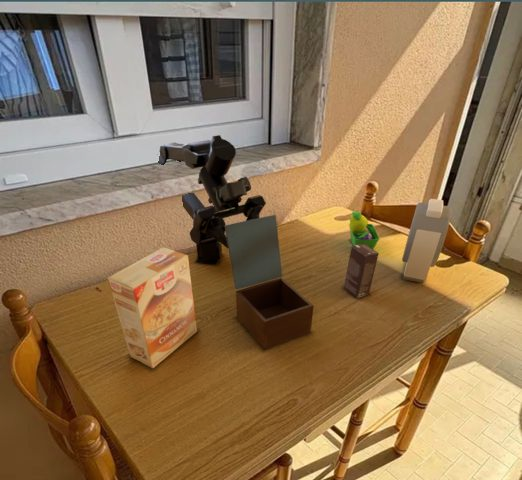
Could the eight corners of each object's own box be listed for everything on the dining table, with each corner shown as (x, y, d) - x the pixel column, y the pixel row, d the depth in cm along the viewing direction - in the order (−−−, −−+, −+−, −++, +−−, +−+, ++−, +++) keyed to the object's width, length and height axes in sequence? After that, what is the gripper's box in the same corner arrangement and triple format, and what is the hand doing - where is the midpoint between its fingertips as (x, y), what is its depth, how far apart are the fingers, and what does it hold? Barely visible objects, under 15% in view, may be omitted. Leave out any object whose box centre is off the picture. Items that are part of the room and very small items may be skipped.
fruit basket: (376, 254, 117) (384, 219, 110) (348, 254, 117) (354, 218, 110) (369, 238, 126) (376, 204, 119) (342, 238, 126) (348, 204, 119)
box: (370, 294, 101) (379, 252, 93) (356, 298, 99) (364, 256, 91) (356, 283, 105) (364, 242, 97) (342, 287, 103) (350, 246, 95)
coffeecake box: (153, 369, 79) (133, 288, 66) (128, 356, 81) (104, 277, 69) (199, 331, 88) (189, 254, 75) (175, 321, 91) (162, 245, 78)
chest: (310, 332, 88) (313, 305, 83) (264, 349, 84) (264, 321, 78) (280, 304, 97) (281, 277, 92) (236, 318, 92) (235, 290, 87)
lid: (275, 214, 85) (274, 214, 85) (225, 225, 80) (224, 225, 81) (282, 276, 91) (280, 275, 92) (236, 289, 87) (235, 289, 87)
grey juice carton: (427, 290, 102) (453, 217, 89) (395, 284, 104) (415, 211, 91) (431, 261, 115) (454, 192, 101) (402, 255, 117) (421, 188, 104)
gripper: (190, 173, 84) (222, 235, 83) (259, 159, 92) (288, 216, 91) (181, 203, 94) (209, 258, 93) (244, 188, 102) (270, 239, 101)
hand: (245, 242), depth 94 cm, fingers open, 9 cm apart
